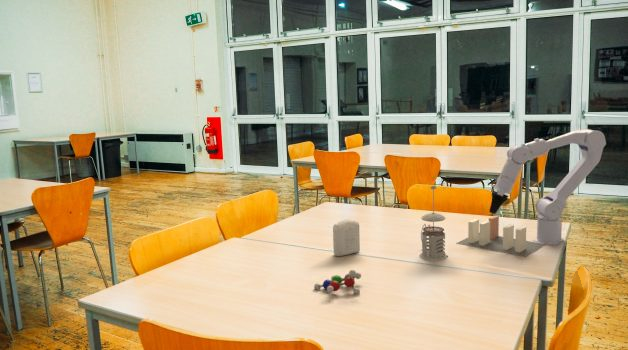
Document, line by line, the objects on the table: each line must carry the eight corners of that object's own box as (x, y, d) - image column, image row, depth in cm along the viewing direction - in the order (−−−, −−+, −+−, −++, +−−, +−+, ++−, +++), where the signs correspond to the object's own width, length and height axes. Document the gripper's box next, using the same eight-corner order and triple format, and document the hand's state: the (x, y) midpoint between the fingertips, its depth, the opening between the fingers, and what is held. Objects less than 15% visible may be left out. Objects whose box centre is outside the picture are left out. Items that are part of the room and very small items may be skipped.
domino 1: (474, 239, 192) (474, 218, 191) (478, 240, 191) (478, 219, 190) (468, 242, 189) (468, 221, 187) (472, 243, 188) (472, 222, 186)
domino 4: (521, 248, 180) (521, 226, 179) (525, 248, 179) (526, 226, 178) (515, 251, 177) (515, 229, 175) (519, 252, 175) (520, 230, 174)
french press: (453, 255, 177) (453, 184, 173) (436, 264, 169) (436, 190, 165) (428, 250, 184) (428, 181, 180) (410, 258, 176) (410, 187, 172)
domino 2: (485, 241, 189) (486, 220, 188) (489, 242, 188) (490, 221, 187) (479, 244, 186) (479, 223, 184) (483, 245, 185) (483, 224, 183)
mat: (478, 233, 201) (478, 232, 201) (546, 245, 183) (546, 244, 183) (455, 244, 189) (455, 243, 189) (526, 258, 171) (526, 257, 170)
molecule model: (308, 304, 148) (348, 302, 141) (303, 279, 148) (342, 276, 141) (334, 288, 161) (372, 285, 153) (329, 265, 161) (367, 262, 153)
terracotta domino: (494, 235, 196) (494, 215, 195) (498, 236, 195) (498, 216, 194) (488, 238, 193) (488, 218, 191) (492, 239, 192) (492, 218, 190)
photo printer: (354, 249, 189) (353, 216, 187) (361, 251, 185) (360, 218, 183) (331, 254, 183) (330, 221, 181) (338, 257, 179) (337, 223, 177)
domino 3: (508, 245, 183) (509, 224, 182) (513, 246, 182) (513, 224, 181) (502, 249, 180) (503, 227, 178) (507, 250, 178) (507, 228, 177)
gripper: (497, 172, 193) (483, 205, 195) (496, 174, 179) (480, 209, 182) (516, 180, 191) (501, 213, 193) (515, 182, 177) (500, 217, 179)
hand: (492, 211), depth 187 cm, fingers open, 7 cm apart
